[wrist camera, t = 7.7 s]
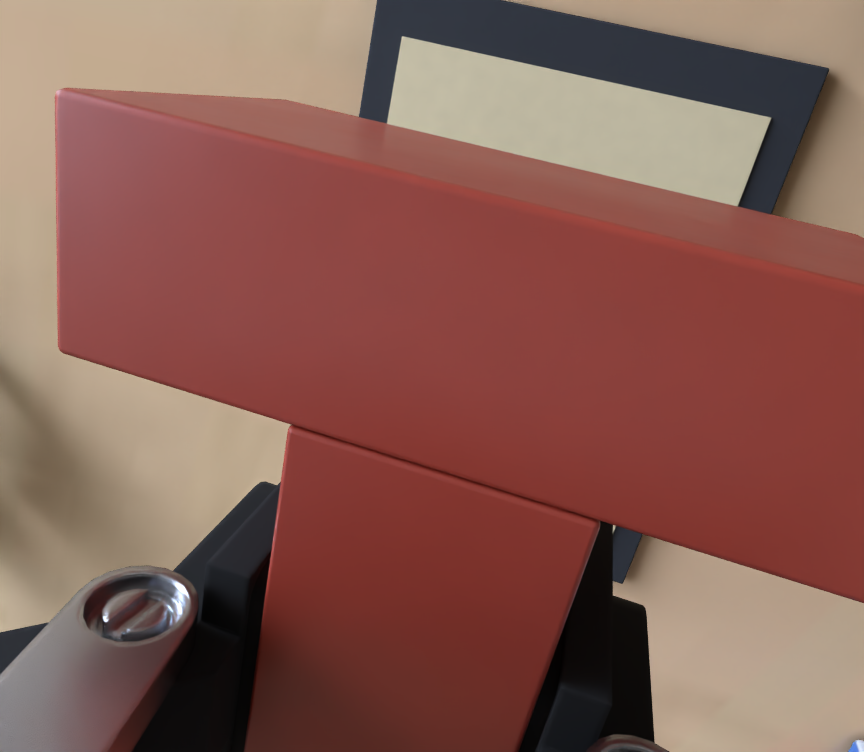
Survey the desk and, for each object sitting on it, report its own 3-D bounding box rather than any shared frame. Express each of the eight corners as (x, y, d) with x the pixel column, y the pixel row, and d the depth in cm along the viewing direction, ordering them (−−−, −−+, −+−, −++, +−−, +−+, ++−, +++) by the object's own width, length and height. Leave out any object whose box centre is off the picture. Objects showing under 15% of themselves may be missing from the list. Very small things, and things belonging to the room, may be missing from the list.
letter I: (216, 695, 15) (62, 920, 11) (282, 98, 10) (50, 84, 6) (588, 838, 13) (575, 1153, 9) (861, 234, 9) (1075, 337, 5)
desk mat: (306, 474, 28) (301, 480, 28) (384, -23, 21) (379, -26, 20) (622, 578, 26) (622, 586, 26) (826, 69, 19) (831, 68, 19)
